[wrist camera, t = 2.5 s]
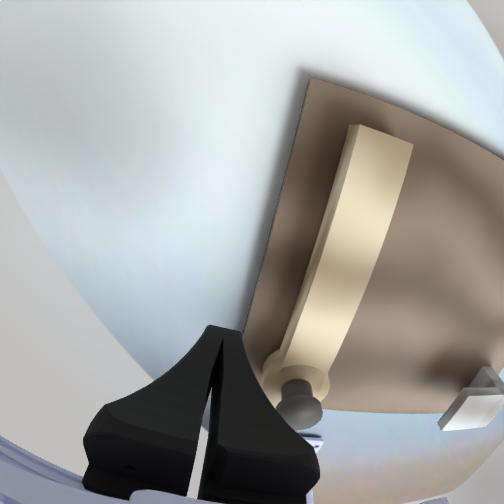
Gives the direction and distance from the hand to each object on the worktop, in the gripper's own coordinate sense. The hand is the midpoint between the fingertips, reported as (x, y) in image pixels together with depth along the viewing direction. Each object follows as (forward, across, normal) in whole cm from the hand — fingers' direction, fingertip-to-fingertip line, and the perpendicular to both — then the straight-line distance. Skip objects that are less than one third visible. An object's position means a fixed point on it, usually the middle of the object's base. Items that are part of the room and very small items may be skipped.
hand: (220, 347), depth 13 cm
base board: (+8, -14, -1) cm, 16 cm away
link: (+7, -5, -1) cm, 9 cm away
